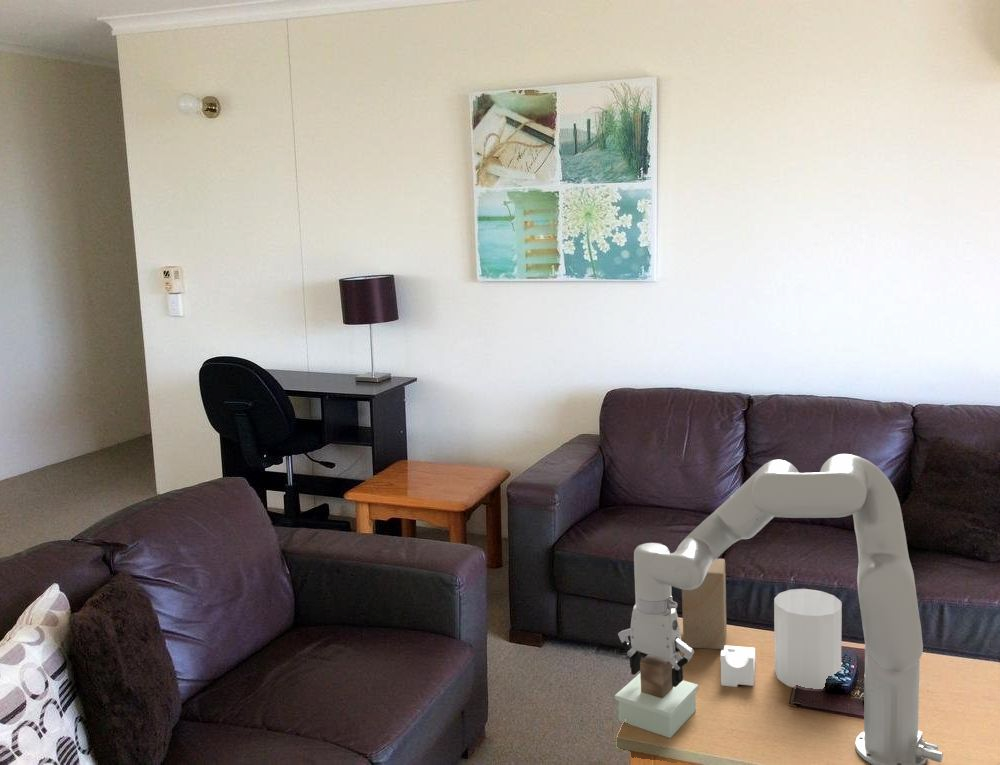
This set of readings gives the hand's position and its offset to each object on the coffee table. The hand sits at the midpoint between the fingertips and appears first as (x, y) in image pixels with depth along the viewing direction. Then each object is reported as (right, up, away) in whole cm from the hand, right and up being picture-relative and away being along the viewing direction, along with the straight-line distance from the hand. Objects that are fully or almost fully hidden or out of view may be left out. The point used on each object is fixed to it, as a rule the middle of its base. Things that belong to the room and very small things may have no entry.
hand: (656, 677), depth 185 cm
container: (+37, -4, +14) cm, 40 cm away
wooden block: (+18, -2, +34) cm, 39 cm away
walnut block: (0, -3, +1) cm, 3 cm away
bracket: (+22, -5, +17) cm, 29 cm away
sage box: (+1, -9, +2) cm, 9 cm away
